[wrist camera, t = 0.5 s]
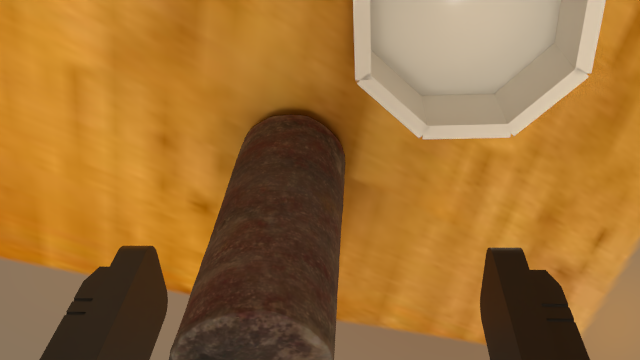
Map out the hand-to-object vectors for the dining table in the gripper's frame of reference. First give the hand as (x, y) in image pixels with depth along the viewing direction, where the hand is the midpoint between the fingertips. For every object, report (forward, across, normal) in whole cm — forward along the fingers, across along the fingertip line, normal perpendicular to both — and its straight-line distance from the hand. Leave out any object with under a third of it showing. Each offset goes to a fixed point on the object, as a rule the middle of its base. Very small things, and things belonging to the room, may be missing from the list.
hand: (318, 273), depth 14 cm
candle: (+26, +4, +12) cm, 28 cm away
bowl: (+25, -7, +2) cm, 26 cm away
